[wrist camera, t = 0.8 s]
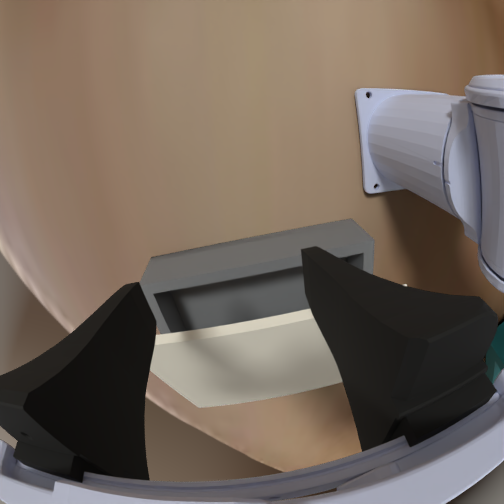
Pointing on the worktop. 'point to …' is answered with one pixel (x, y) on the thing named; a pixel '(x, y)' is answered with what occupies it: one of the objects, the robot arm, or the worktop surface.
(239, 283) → the storage box
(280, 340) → the lid
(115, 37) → the worktop surface
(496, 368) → the teal stepped block
